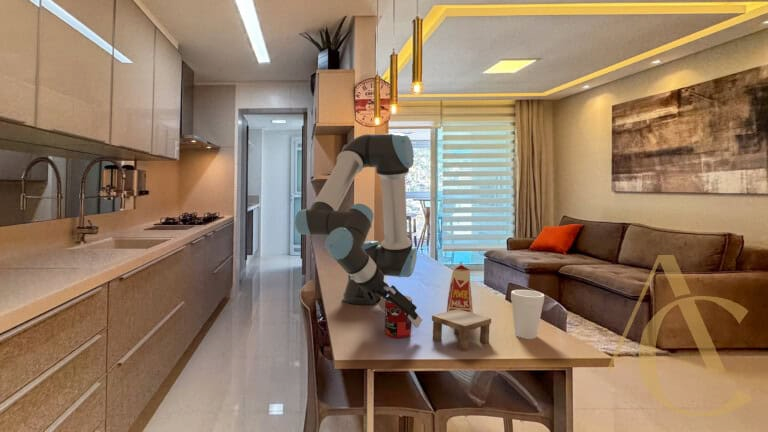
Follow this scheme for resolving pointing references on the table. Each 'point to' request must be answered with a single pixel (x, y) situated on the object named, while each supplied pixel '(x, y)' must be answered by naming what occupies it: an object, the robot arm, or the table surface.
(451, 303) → the milk carton
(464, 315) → the stool
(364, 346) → the table surface
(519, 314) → the foam cup
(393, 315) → the canned food
